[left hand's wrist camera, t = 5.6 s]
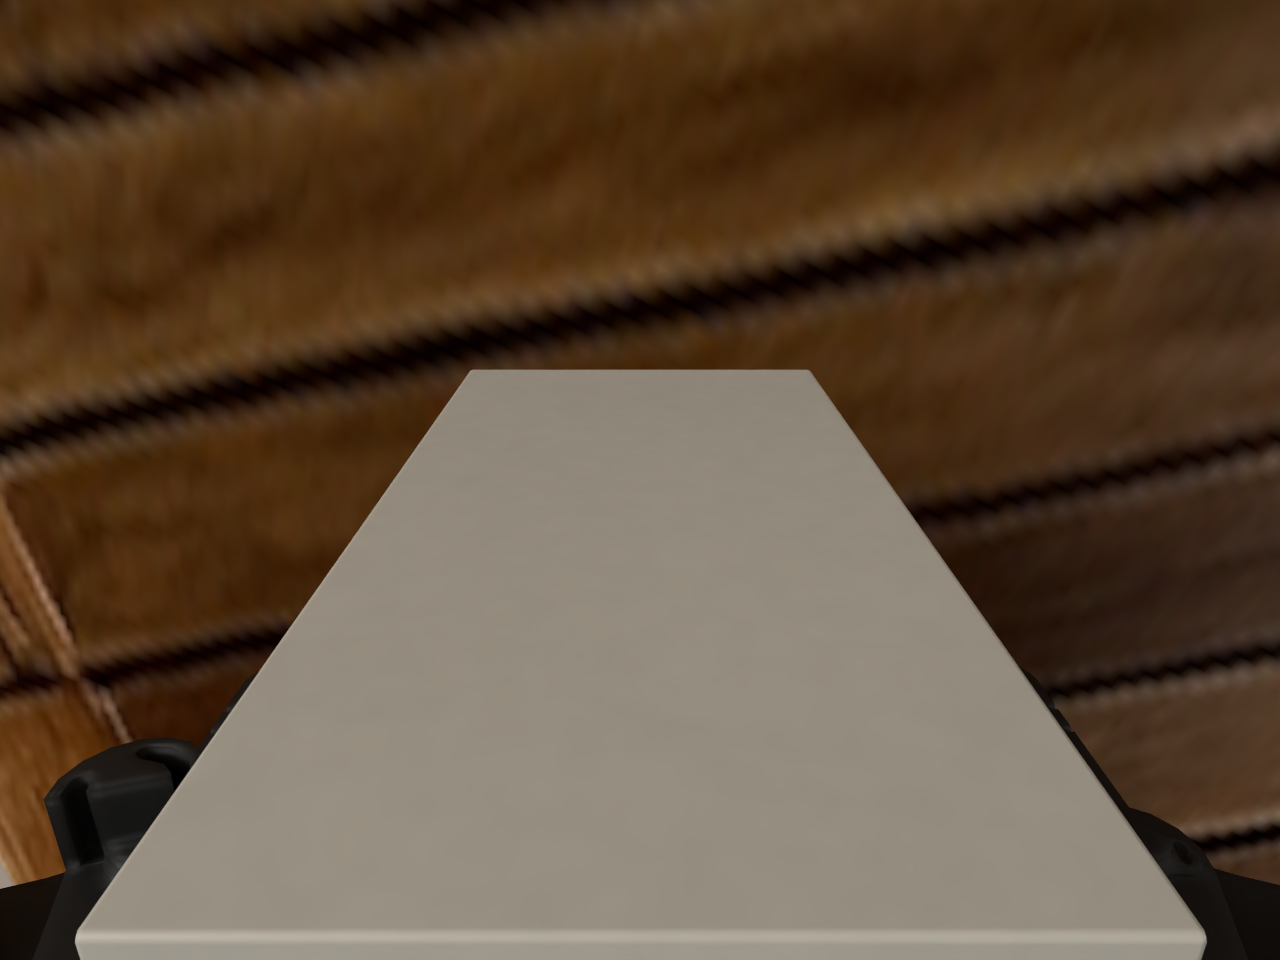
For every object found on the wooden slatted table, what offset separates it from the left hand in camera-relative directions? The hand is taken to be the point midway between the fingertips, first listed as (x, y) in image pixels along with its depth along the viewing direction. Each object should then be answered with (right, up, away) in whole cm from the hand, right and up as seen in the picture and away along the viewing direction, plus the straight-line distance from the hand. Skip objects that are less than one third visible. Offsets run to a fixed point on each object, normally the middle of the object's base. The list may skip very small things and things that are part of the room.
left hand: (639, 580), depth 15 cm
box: (0, -6, +5) cm, 8 cm away
